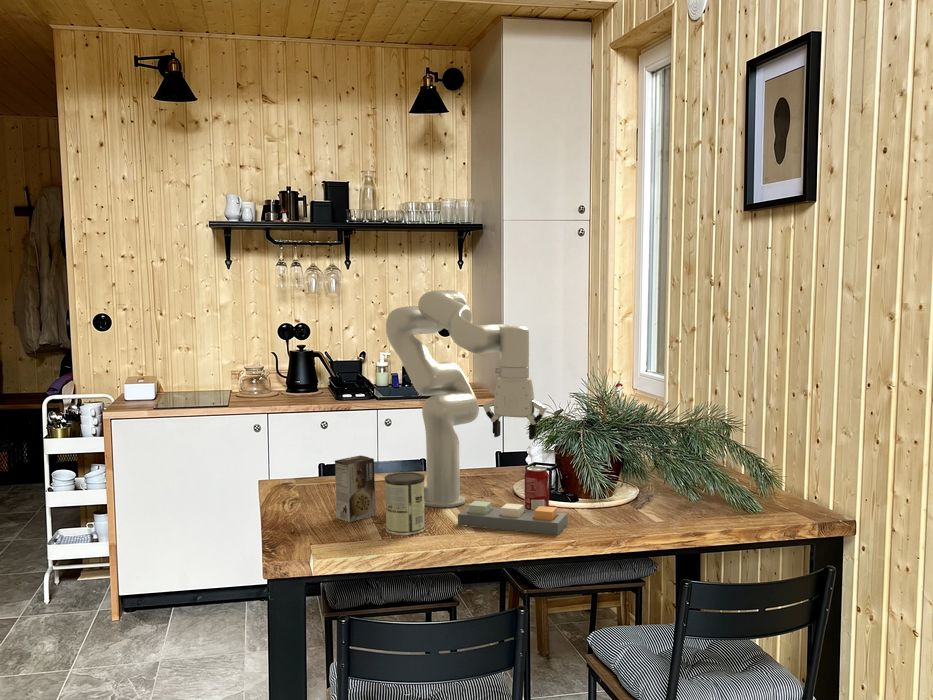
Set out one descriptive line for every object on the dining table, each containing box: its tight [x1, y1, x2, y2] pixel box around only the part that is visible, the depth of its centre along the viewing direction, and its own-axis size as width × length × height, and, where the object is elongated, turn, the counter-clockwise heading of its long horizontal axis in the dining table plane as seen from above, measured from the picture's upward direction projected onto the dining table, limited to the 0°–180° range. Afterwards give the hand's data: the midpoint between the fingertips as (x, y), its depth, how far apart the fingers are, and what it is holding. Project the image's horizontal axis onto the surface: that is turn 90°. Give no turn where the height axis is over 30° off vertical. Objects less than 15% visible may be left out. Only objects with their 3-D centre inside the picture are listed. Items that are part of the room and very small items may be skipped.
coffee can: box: [384, 471, 426, 535], centre depth 228 cm, size 10×10×14 cm
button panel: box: [457, 506, 568, 536], centre depth 232 cm, size 27×10×3 cm, turn 70°
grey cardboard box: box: [334, 455, 377, 523], centre depth 241 cm, size 9×6×16 cm
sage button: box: [468, 500, 493, 515], centre depth 235 cm, size 5×5×2 cm
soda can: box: [524, 465, 550, 510], centre depth 246 cm, size 7×7×12 cm
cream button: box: [500, 502, 525, 517], centre depth 232 cm, size 5×5×2 cm
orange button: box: [534, 506, 558, 520], centre depth 229 cm, size 5×5×2 cm
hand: (514, 437), depth 233 cm, fingers open, 9 cm apart
